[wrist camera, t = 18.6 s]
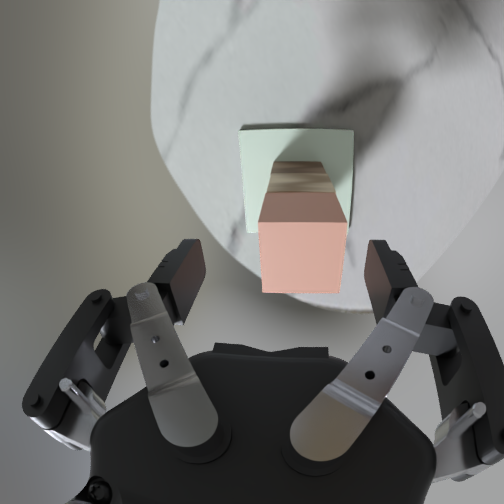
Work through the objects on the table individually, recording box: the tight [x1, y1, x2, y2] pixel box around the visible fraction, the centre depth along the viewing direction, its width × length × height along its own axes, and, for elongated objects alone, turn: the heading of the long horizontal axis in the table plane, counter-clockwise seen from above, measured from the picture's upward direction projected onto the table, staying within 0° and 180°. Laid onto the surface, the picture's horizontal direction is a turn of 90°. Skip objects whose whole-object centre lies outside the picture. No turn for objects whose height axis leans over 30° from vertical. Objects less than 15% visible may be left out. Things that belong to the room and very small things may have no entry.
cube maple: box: [267, 173, 336, 194], centre depth 22 cm, size 5×5×5 cm
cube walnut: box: [270, 161, 327, 176], centre depth 27 cm, size 5×5×5 cm
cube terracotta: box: [258, 192, 348, 293], centre depth 18 cm, size 5×5×5 cm
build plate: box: [238, 128, 354, 234], centre depth 29 cm, size 12×12×1 cm
